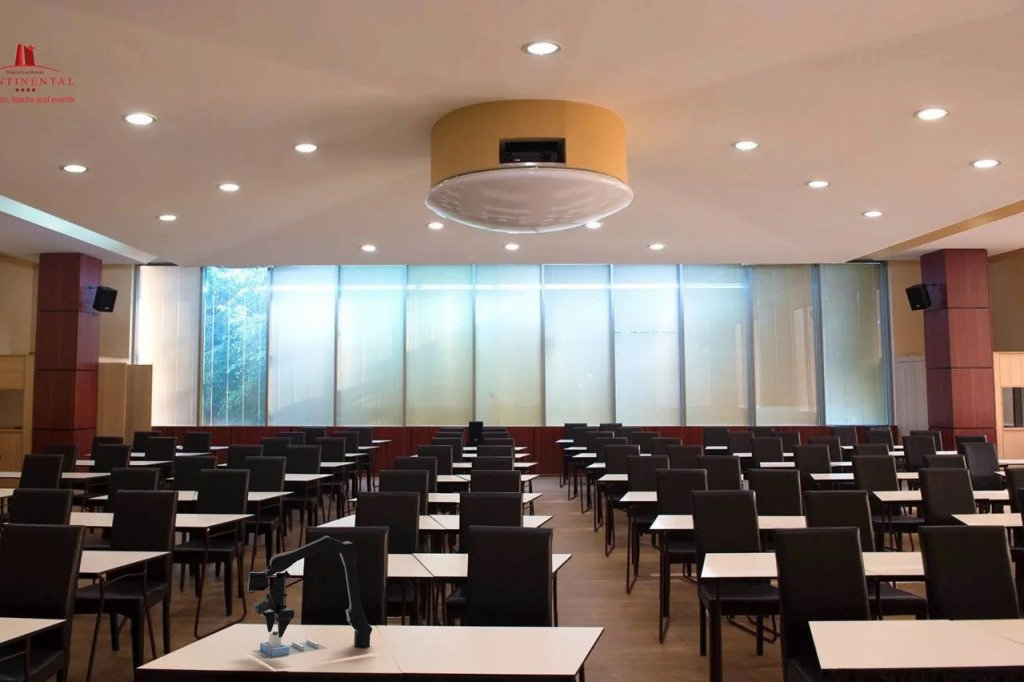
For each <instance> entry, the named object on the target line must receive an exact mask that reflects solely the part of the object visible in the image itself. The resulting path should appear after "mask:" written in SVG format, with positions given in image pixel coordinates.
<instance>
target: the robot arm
mask: <svg viewBox="0 0 1024 682" xmlns="http://www.w3.org/2000/svg"><path fill="white" fill-rule="evenodd" d="M325 549H329V550H331V551H334V552H337V553H338V554H339V556H340V558H341V562H342V564H343V567H344V573H345V580H346V587H347V588H346V589H347V594H348V601H349V607H348V608H346V609H345V614H346V621H347V622H348V623H349V624H350V626H351V627H352V628H353V629H354V637H353V646H354V648H358V649H366V648H371V647H370V646H371V634H372V631H373V627H372V626H371V625H370V624H369V623H368V620H367V617H366V614H365V611H364V608H363V606H362V603H361V596H360V588H359V581H358V576H357V575H358V574H357V568H356V564H357V552H358V551H357V547H356V545H355V544H353V542H351V541H348V540H346V541H341V540H338V539H335V538H332V537H330V536H328V535H324V536H322V537H321V538H318V539H317V540H314V541H311V542H309V543H308V544H305V545H303V546H300V547H298V548H296V549H294V550H290V551H284V552H280V553H275V554H274V555H273V556H272V557H271V558H270V560H269V564H268V565H267V566H266V568H265V569H264V570H263V571H250V572H249V574H248V579H247V592H250V593H251V592H252V593H253V592H265V590H266V589H268V592H266V594H265V597H264V598H261V599H259V600H257V601H255V602H253V603H252V605H251V606H252V610H253V613H254V614H257V615H261V616H263V617H264V621H265V624H266V630H267V633H271V632H273V631H272V630H273V627H274V624H275V622H277V632H278V635H279V638H280V637H281V638H283V635H284V634H285V632H286V630H287V628H288V626H289V625H290V623H291V621H292V620H293V619H294V618H295V614H296V612H295V611H294V610H293V609H292V608H287V604H286V601H285V600H286V599H285V598H286V597H288V593H286V585H287V584H286V582H287V581H286V579H291V578H292V575H291V573H289V571H288V570H287V569H289V568H291V566H293V565H294V564H295V563H297V562H299V561H300V560H303V559H305V558H308V557H310V556H312V555H315V554H316V553H319V552H322V551H323V550H325Z"/></svg>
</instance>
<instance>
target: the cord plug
mask: <svg viewBox="0 0 1024 682" xmlns="http://www.w3.org/2000/svg"><path fill="white" fill-rule="evenodd" d="M268 642H269V646H271V647H273V648H280V647H281V643H282V637H280V638H279V635H278V630H275V631H272V633H269V635H268Z"/></svg>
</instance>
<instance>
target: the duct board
mask: <svg viewBox="0 0 1024 682" xmlns="http://www.w3.org/2000/svg"><path fill="white" fill-rule="evenodd" d="M325 649H327V647H326V646H324V645H322V644H319V643H318V642H316V641H314V640H312V639H309V638H308V639H307V638H306V642H296V641H292V642H291V644H285V643H282V642H281V647H280V648H273V647H271V646H269V641H263V642H260V644H259V649H255V650H254V649H253V650H252V652H253V653H255V654H257V655H258V656H260V657H262V658H264V659H270V658H276V657H284V656H289V655H295V654H300V653H308V652H314V651H320V650H325Z"/></svg>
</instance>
